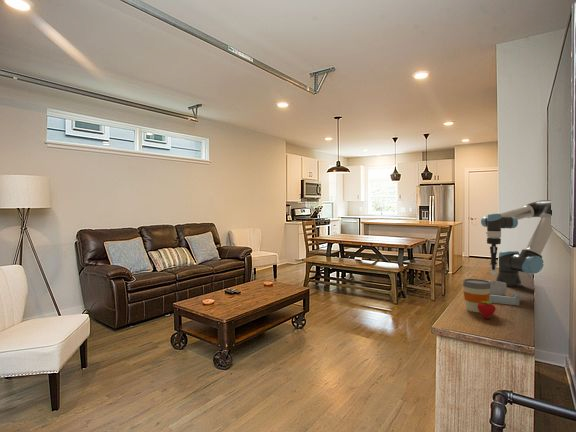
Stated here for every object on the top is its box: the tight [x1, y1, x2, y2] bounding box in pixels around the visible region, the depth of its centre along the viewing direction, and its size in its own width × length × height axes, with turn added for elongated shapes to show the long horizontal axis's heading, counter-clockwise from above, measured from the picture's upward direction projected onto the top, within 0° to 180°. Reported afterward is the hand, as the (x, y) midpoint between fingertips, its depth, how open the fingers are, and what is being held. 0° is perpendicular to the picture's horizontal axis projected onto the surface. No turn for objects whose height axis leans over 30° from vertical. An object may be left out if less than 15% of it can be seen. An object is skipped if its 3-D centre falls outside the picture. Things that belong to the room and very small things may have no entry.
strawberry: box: [477, 298, 496, 320], centre depth 159 cm, size 6×8×10 cm
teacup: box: [488, 280, 507, 296], centre depth 203 cm, size 14×11×8 cm
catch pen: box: [489, 291, 520, 306], centre depth 192 cm, size 15×21×5 cm
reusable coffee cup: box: [462, 278, 491, 313], centre depth 173 cm, size 12×13×15 cm
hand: (493, 274), depth 212 cm, fingers closed
